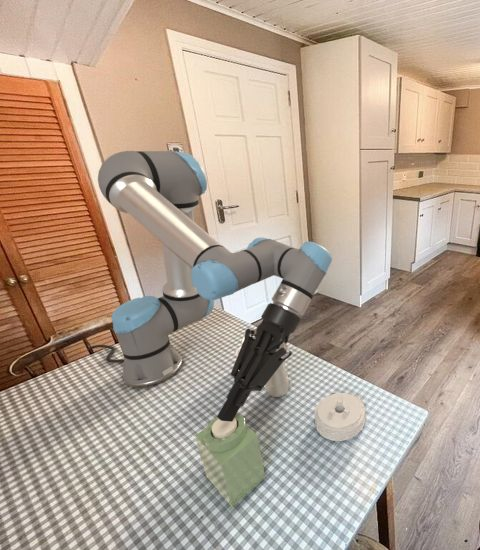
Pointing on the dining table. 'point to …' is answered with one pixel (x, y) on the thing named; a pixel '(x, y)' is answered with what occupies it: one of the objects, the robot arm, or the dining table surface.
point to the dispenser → (232, 460)
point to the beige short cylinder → (223, 428)
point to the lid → (339, 416)
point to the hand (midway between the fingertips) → (224, 419)
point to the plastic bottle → (278, 382)
